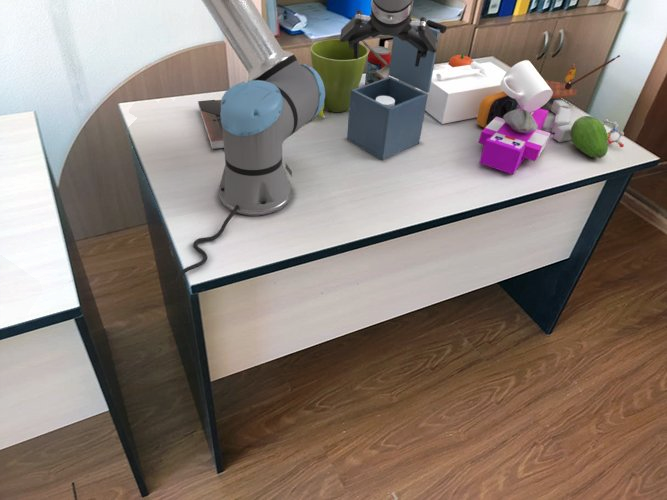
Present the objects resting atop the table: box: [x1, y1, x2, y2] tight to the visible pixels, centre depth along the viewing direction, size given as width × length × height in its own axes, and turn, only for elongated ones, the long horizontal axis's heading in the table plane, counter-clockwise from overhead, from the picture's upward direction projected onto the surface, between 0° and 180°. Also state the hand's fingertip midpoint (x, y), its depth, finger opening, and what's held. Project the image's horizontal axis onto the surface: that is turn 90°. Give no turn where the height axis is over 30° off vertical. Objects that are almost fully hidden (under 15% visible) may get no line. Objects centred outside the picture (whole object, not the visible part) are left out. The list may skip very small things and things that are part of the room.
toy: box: [478, 106, 552, 175], centre depth 136 cm, size 14×6×30 cm
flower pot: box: [310, 38, 369, 113], centre depth 144 cm, size 15×15×16 cm
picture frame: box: [197, 99, 224, 150], centre depth 137 cm, size 16×2×22 cm
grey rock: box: [503, 109, 538, 133], centre depth 130 cm, size 12×8×5 cm
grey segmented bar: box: [550, 98, 574, 143], centre depth 147 cm, size 20×4×7 cm
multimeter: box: [476, 91, 520, 129], centre depth 146 cm, size 9×18×3 cm
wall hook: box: [361, 39, 390, 79], centre depth 148 cm, size 5×30×4 cm
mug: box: [500, 59, 553, 113], centre depth 137 cm, size 12×8×10 cm
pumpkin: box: [447, 53, 474, 67], centre depth 168 cm, size 8×8×7 cm
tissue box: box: [420, 61, 507, 125], centre depth 150 cm, size 14×25×11 cm, turn 116°
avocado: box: [571, 115, 609, 159], centre depth 136 cm, size 8×8×12 cm
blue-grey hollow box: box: [346, 76, 428, 161], centre depth 131 cm, size 14×13×13 cm
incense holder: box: [544, 54, 621, 99], centre depth 156 cm, size 21×30×11 cm
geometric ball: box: [433, 63, 452, 70], centre depth 159 cm, size 8×8×8 cm
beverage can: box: [364, 45, 391, 85], centre depth 155 cm, size 7×7×12 cm
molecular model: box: [602, 118, 625, 148], centre depth 141 cm, size 7×8×8 cm
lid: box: [389, 19, 447, 93], centre depth 128 cm, size 14×13×9 cm
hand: (387, 57), depth 119 cm, fingers open, 13 cm apart
